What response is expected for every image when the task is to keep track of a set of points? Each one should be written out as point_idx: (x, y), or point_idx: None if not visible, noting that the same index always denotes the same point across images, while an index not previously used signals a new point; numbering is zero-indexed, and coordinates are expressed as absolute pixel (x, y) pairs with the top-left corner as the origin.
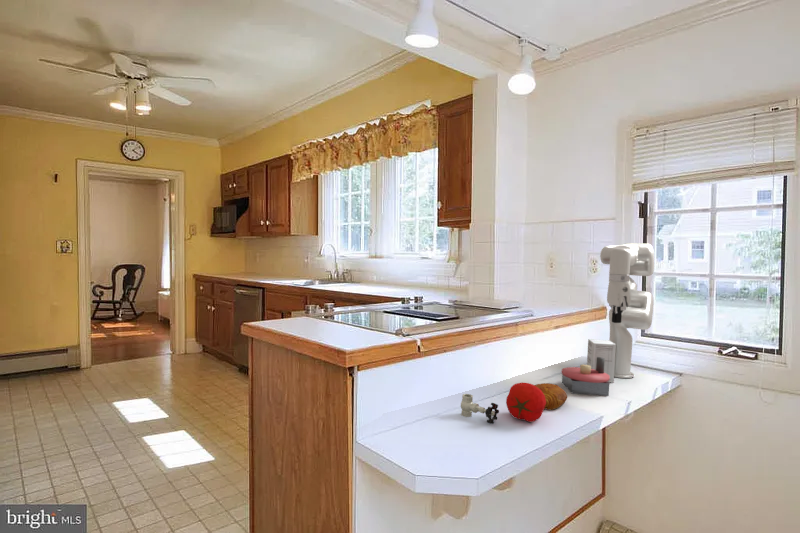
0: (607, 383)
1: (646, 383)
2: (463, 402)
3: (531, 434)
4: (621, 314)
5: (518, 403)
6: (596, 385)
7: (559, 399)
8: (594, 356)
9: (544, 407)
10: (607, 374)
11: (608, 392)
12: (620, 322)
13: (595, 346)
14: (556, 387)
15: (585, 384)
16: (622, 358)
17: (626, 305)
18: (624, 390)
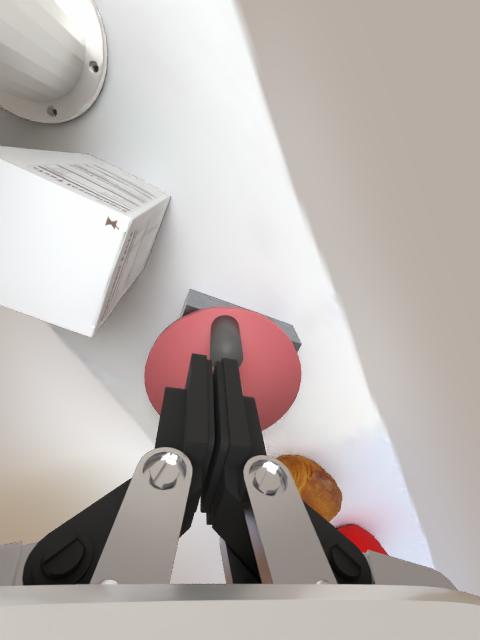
0: (298, 348)
1: (189, 13)
2: None
3: (398, 549)
4: (248, 434)
5: None
6: None
7: (341, 499)
8: (117, 300)
9: (385, 551)
10: (254, 318)
11: (294, 330)
12: (234, 364)
13: (102, 321)
14: (317, 507)
15: None
16: (39, 38)
17: (400, 614)
18: (258, 228)
